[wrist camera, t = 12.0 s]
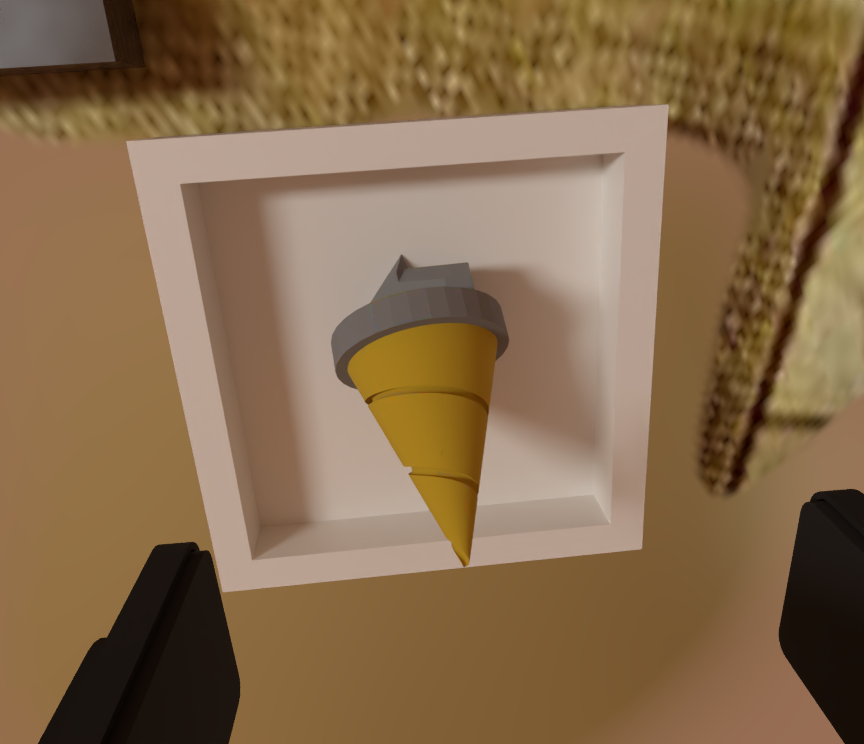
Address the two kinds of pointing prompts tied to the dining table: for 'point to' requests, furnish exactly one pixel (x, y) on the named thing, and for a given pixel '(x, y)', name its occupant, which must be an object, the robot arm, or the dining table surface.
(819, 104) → the dining table surface
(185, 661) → the robot arm
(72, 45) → the socket collar
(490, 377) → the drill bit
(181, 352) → the tray
